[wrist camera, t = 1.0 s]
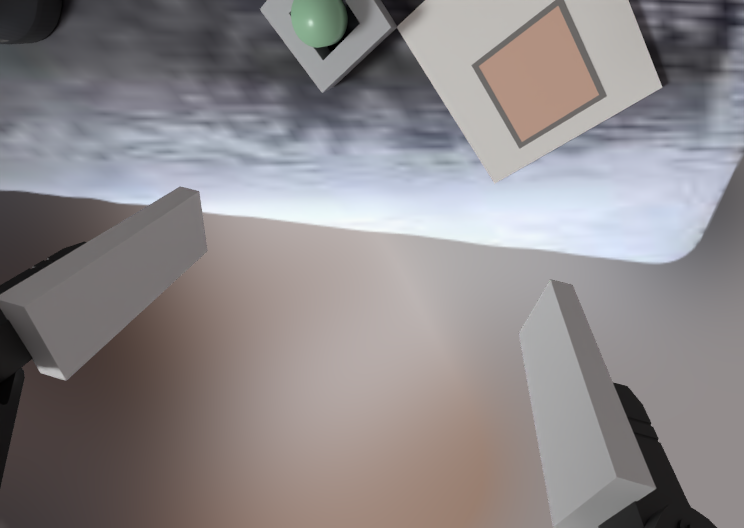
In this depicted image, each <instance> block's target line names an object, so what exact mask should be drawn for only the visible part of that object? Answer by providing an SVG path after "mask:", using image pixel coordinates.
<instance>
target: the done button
mask: <svg viewBox="0 0 744 528" xmlns="http://www.w3.org/2000/svg"><path fill="white" fill-rule="evenodd" d="M291 21H292V25H293V28H294V31H295V33H296V34H297V36H298V37H299V38H300V40H301V41H302V42H304V43H305V44H307V45H308V46H311V47H316V48H318V47H325V46H330V45H333V44H335V43H337V42H338V41H339V40H340V39H341V38H342V37H343V35H344V33H345V31H346V28H347V22H348V17H347V11H346V7H345V5H344V3H343V1H342V0H294V1H293V3H292V7H291Z"/></svg>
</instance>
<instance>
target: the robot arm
mask: <svg viewBox="0 0 744 528" xmlns="http://www.w3.org/2000/svg"><path fill="white" fill-rule="evenodd" d="M61 8H62V0H0V44H23V43H34V42H38V41H40V40H43V39H44V38H46V37H47V36H48V35H49V34H50V33H51V32H52V31H53V30H54V28H55V26H56V24H57V22H58V20H59V17H60V13H61ZM206 252H207V245H206V237H205V230H204V223H203V216H202V208H201V201H200V194H199V191H196V190H192V189H188V188H184V187H179V188H177V189H175V190H174V191H172V192H170V193H169V194H167V195H165V196H164V197H162V198H160V199H159V200H157V201H155V202H154V203H152V204H150V205H149V206H147V207H145V208H144V209H142V210H140V211H139V212H137V213H135V214H134V215H132V216H130V217H129V218H127V219H125V220H124V221H122V222H120V223H119V224H117V225H115V226H114V227H112V228H110V229H109V230H107V231H105V232H104V233H102V234H100V235H99V236H97V237H95V238H94V239H92V240H90V241H89V242H82V243H79V244H76V245H73V246H70V247H67V248H64V249H62V250H60V251H59V252H57V253H55V254H54V255H52V256H50V257H48V258H47V260H46V261H44V260H43V261H41V262H40V263H38V264H36V265H34V266H33V268H32V269H28V270H26V271H24V272H22V273H21V274H19V275H17V276H16V277H14V278H12V279H10V280H9V281H7V282H5V283H4V284H2V285H0V487H1V482H2V478H3V473H4V469H5V464H6V459H7V455H8V451H9V446H10V441H11V437H12V432H13V428H14V423H15V419H16V414H17V410H18V405H19V401H20V396H21V392H22V387H23V382H24V378H25V377H24V370H23V369H22V367H23V366H24V365H25V364H26V363H28V362H29V361H30V360H31V359H32V360H33V361H34V363H35V365H36V366H37V367H38V369H39V371H40V372H41V373H43V374H46V375H49V376H53V377H56V378H59V379H62V380H67V379H69V378H70V377H71V376H72V375H73V374H74V373H75V372H76V371H77V370H78V369H79V368H80V367H82V366H83V365H84V364H85V363H86V362H87V361H88V360H89V359H90V358H91V357H93V356H94V355H95V354H96V353H97V352H98V351H99V350H100V349H101V348H102V347H103V346H105V344H107V343H108V342H109V341H110V340H111V339H112V338H113V337H114V336H115V335H116V334H118V333H119V332H120V331H121V330H122V329H123V328H124V327H125V326H126V325H127V324H129V322H131V321H132V320H133V319H134V318H135V317H136V316H137V315H138V314H139V313H140V312H142V311H143V310H144V309H145V308H146V307H147V306H148V305H149V304H150V303H151V302H152V301H154V300H155V299H156V298H157V297H158V296H159V295H160V294H161V293H162V292H163V291H165V290H166V289H167V288H168V287H169V286H170V285H171V284H172V283H173V282H174V281H175V280H177V279H178V278H179V277H180V276H181V275H182V274H183V273H184V272H185V271H186V270H187V269H189V268H190V267H191V266H192V265H193V264H194V263H195V262H196V261H197V260H198V259H199V258H200V257H202V256H203V255H204V254H205V253H206ZM519 338H520V344H521V349H522V355H523V360H524V366H525V372H526V377H527V383H528V388H529V394H530V399H531V405H532V411H533V417H534V422H535V428H536V434H537V439H538V445H539V450H540V456H541V462H542V467H543V473H544V479H545V484H546V490H547V495H548V501H549V507H550V512H551V517H552V523H553V527H554V528H717V527H716V526H715V525H714V524H713V523H712V522H711V521H710V520H709V519H708V518H706V517H705V516H703V515H702V514H700V513H699V512H697V511H696V510H694V509H693V508H691V507H690V505H689V503H688V501H687V499H686V497H685V495H684V492H683V490H682V488H681V486H680V484H679V482H678V480H677V478H676V475H675V473H674V471H673V469H672V467H671V465H670V462H669V460H668V458H667V456H666V454H665V452H664V449H663V448H662V445H661V443H659V442H658V437H657V435H656V432H655V430H654V428H653V427H651V422H650V419H649V417H648V415H647V413H646V411H645V409H644V407H643V405H642V403H641V402H640V401H639V400H638V399H637V397H636V396H635V395H634V394H633V392H632V391H631V390H630V389H629V388H628V387H627V386H624V385H621V384H617V383H613V382H612V380H611V377H610V375H609V372H608V370H607V367H606V365H605V363H604V360H603V358H602V355H601V353H600V350H599V348H598V346H597V343H596V341H595V338H594V336H593V333H592V331H591V329H590V326H589V324H588V321H587V319H586V316H585V314H584V312H583V309H582V307H581V304H580V302H579V300H578V297H577V295H576V292H575V290H574V287H573V285H571V284H567V283H563V282H559V281H555V280H550V281H549V282H548V284H547V286H546V288H545V289H544V291H543V293H542V294H541V296H540V298H539V299H538V301H537V303H536V305H535V306H534V308H533V310H532V311H531V313H530V315H529V316H528V318H527V320H526V322H525V323H524V325H523V327H522V328H521V330H520V332H519Z"/></svg>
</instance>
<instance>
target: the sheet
mask: <svg viewBox="0 0 744 528" xmlns="http://www.w3.org/2000/svg"><path fill="white" fill-rule="evenodd" d="M397 29H398V30H399V32H400V34H401V35H402V37H403V38H404V40H405V42H406V43H407V45H408V46H409V48H410V49H411V51H412V53H413V54H414V56H415V57H416V59H417V61H418V62H419V64H420V65H421V67H422V69H423V70H424V72H425V73H426V75H427V77H428V78H429V80H430V81H431V83H432V85H433V86H434V88H435V89H436V91H437V92H438V94H439V96H440V97H441V99H442V100H443V102H444V104H445V105H446V107H447V108H448V110H449V112H450V113H451V115H452V116H453V118H454V120H455V121H456V123H457V124H458V126H459V128H460V129H461V131H462V132H463V134H464V136H465V137H466V139H467V140H468V142H469V143H470V145H471V147H472V148H473V150H474V151H475V153H476V155H477V156H478V158H479V159H480V161H481V163H482V164H483V166H484V167H485V169H486V171H487V172H488V174H489V175H490V177H491V179H492V180H493V182H494V183H497V182H498V181H500V180H502V179H504V178H505V177H507V176H509V175H511V174H512V173H514V172H516V171H518V170H519V169H521V168H523V167H524V166H526V165H528V164H530V163H531V162H533V161H535V160H537V159H538V158H540V157H542V156H544V155H545V154H547V153H549V152H551V151H552V150H554V149H556V148H558V147H559V146H561V145H563V144H565V143H566V142H568V141H570V140H572V139H573V138H575V137H577V136H578V135H580V134H582V133H584V132H585V131H587V130H589V129H591V128H592V127H594V126H596V125H598V124H599V123H601V122H603V121H605V120H606V119H608V118H610V117H612V116H613V115H615V114H617V113H619V112H620V111H622V110H624V109H626V108H627V107H629V106H631V105H632V104H634V103H636V102H638V101H639V100H641V99H643V98H645V97H646V96H648V95H650V94H652V93H653V92H655V91H657V90H659V89H660V88H662V85H661V83H660V80H659V78H658V75H657V72H656V70H655V67H654V65H653V62H652V60H651V57H650V54H649V52H648V49H647V47H646V44H645V42H644V39H643V36H642V34H641V31H640V29H639V26H638V24H637V21H636V18H635V16H634V13H633V11H632V8H631V6H630V3H629V0H425V1H424V2H423V3H422V4H421V5H419V6H418V7H417V8H416V9H415V10H414V11H413V12H412V13H411V14H410V15H409V16H408V17H407V18H406V19H405V20H403V21H402V22H401V23H400V24H399V25H398V26H397Z"/></svg>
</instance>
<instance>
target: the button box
mask: <svg viewBox="0 0 744 528" xmlns="http://www.w3.org/2000/svg"><path fill="white" fill-rule="evenodd" d="M293 1H294V0H267V1H266V2H265V4H264V5H263V6H262V7H261V9H260V10H261V12H262V13H263V14H264V16H265V17H266V18H267V20H268V21H269V22H270V24H271V25H272V26H273V28H274V29H275V30H276V32H277V33H278V34H279V36H280V37H281V38H282V40H283V41H284V42H285V44H286V45H287V46H288V48H289V49H290V50H291V52H292V53H293V54H294V56H295V57H296V58H297V60H298V61H299V62H300V64H301V65H302V66H303V68H304V69H305V70H306V72H307V73H308V74H309V76H310V77H311V78H312V80H313V81H314V82H315V84H316V85H317V86H318V88H319V89H320V90H321V92H322V93H323V92H325V91H327V90H329V89H331V88H333V87H334V86H335V85H336V84H337V83H338V82H340V81H341V80H342V79H343V78H344V77H345V76H346V75H347V74H348V73H349V72H350V71H351V70H352V69H353V68H354V67H356V66H357V65H358V64H359V63H360V62H361V61H362V60H363V59H364V58H365V57H366V56H367V55H368V54H369V53H370V52H372V51H373V50H374V49H375V48H376V47H377V46H378V45H379V44H380V43H381V42H382V41H383V40H384V39H385V38H386V37H388V36H389V35H390V34H391V33H392V32H393V31H394V30H395V29H396V28H397V25H396V24H395V22H394V20H393V19H392V17H391V16H390V14H389V12H388V11H387V9H386V8H385V6H384V4H383V3H382V1H381V0H345V1H346V3H347V4H348V6H349V7H350V9H351V10H352V12H353V13H354V15H355V16H356V18H357V19H358V21H359V22H360V24H359V25H358V26H357V27H356V28H355V29H354V30H353V31H352V32H351V33H350V34H349V35H348V36H347V37H346V38H345V39H344V40H343V41H342V42H341V43H340V44H339V45H338V46H337V47H336V48H335V49H334V50H333V51H332V52H330V50H329V49H328V47H327V46H325V47H318V48H316V47H311V46H308V45H307V44H305V43H304V42H302V41H301V40H300V38H299V37H298V36H297V34H296V33H295V31H294V28H293V25H292V21H291V7H292V3H293Z"/></svg>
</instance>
